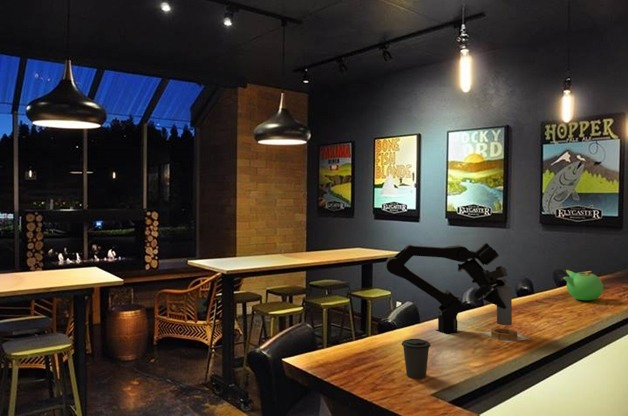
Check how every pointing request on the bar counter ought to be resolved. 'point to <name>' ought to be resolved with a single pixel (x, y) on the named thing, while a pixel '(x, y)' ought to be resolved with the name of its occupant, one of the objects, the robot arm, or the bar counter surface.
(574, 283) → the toy bird
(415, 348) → the coffee cup
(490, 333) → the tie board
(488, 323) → the bar counter surface
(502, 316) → the dark grey cylinder
